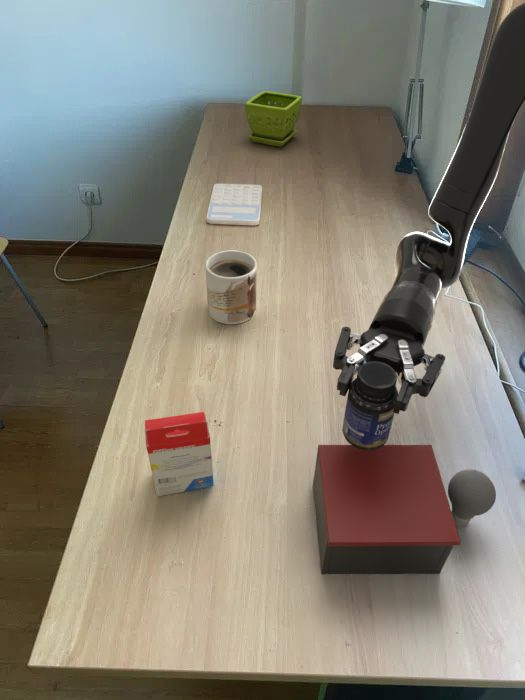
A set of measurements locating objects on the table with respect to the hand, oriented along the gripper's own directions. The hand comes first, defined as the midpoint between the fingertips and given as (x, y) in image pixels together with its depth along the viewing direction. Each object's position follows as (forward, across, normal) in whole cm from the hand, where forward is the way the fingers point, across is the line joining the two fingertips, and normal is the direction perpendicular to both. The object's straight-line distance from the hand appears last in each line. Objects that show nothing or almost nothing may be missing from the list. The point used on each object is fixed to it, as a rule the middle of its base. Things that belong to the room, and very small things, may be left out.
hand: (369, 399), depth 67 cm
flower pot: (-118, -63, +23) cm, 136 cm away
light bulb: (-4, +15, +22) cm, 27 cm away
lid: (+3, +5, +13) cm, 14 cm away
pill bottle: (-2, 0, +9) cm, 10 cm away
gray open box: (+3, +4, +22) cm, 22 cm away
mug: (-34, -35, +22) cm, 54 cm away
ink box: (+7, -24, +22) cm, 33 cm away
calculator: (-73, -54, +22) cm, 93 cm away
